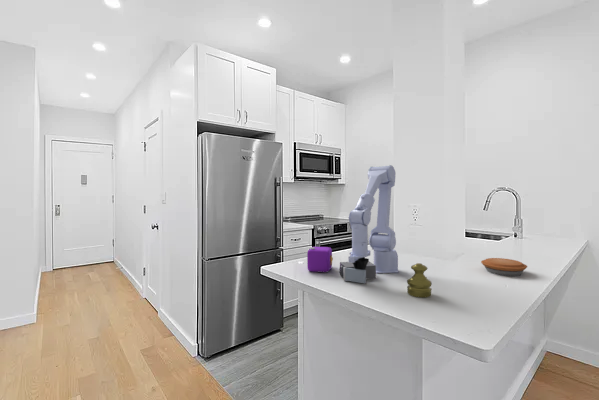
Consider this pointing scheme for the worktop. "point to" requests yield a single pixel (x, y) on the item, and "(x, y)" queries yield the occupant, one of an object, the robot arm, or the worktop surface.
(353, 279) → the door
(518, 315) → the worktop surface
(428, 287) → the olive chess piece
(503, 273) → the pie
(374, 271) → the block
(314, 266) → the toy camera
